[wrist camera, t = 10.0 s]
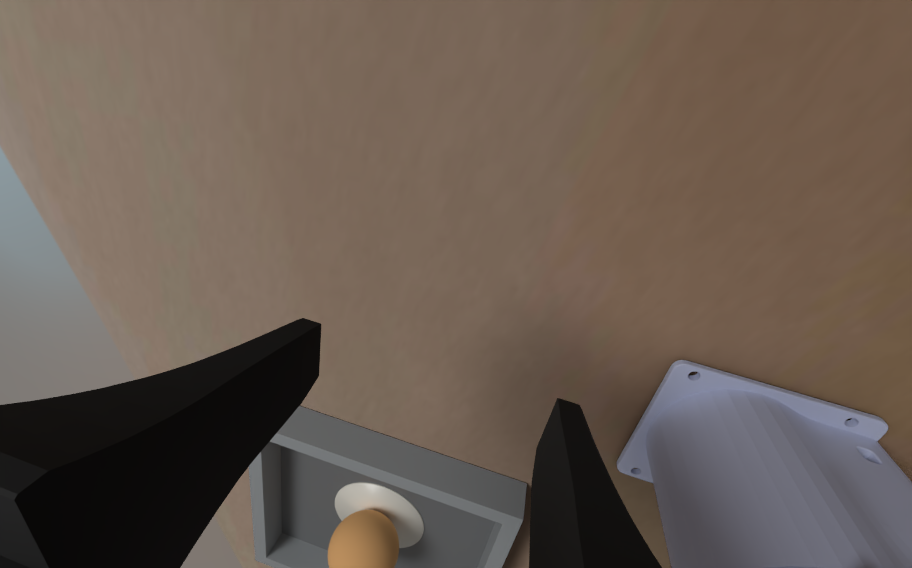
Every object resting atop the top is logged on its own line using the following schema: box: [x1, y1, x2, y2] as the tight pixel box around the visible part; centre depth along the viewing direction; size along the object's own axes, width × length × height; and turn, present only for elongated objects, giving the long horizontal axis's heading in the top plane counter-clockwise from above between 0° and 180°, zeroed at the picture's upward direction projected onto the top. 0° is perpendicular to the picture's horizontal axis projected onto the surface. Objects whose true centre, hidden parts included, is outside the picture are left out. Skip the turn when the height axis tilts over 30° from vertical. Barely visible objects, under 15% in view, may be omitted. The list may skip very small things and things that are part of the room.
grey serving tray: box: [249, 406, 527, 568], centre depth 30 cm, size 18×16×2 cm
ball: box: [328, 510, 399, 568], centre depth 29 cm, size 5×5×5 cm
